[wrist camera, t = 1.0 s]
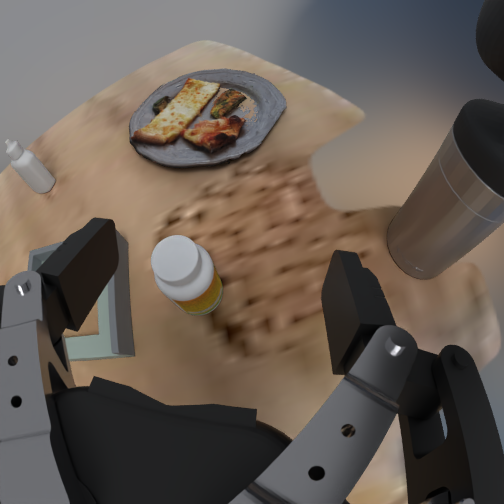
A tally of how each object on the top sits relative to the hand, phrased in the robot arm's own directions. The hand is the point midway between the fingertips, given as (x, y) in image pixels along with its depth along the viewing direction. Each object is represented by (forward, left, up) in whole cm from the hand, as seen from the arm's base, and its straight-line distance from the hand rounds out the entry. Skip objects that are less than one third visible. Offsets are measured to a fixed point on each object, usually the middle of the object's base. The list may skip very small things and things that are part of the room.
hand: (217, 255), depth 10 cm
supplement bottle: (+1, -7, -21) cm, 22 cm away
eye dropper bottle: (+11, -40, -21) cm, 46 cm away
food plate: (-17, -30, -21) cm, 40 cm away
